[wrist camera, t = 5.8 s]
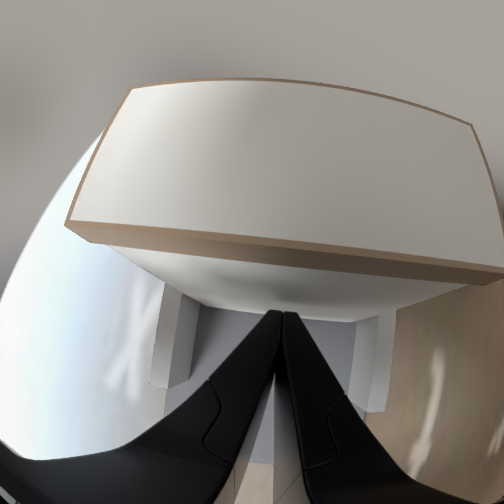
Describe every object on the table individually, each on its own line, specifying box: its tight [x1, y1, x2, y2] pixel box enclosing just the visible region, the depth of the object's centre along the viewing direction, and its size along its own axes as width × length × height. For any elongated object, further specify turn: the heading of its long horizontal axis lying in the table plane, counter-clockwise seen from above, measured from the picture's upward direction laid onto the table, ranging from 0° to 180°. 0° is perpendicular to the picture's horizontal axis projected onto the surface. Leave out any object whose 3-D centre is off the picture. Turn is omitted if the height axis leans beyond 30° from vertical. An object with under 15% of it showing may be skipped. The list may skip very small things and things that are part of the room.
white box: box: [64, 78, 504, 322], centre depth 8 cm, size 3×7×10 cm, turn 82°
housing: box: [149, 283, 397, 465], centre depth 12 cm, size 14×10×4 cm
